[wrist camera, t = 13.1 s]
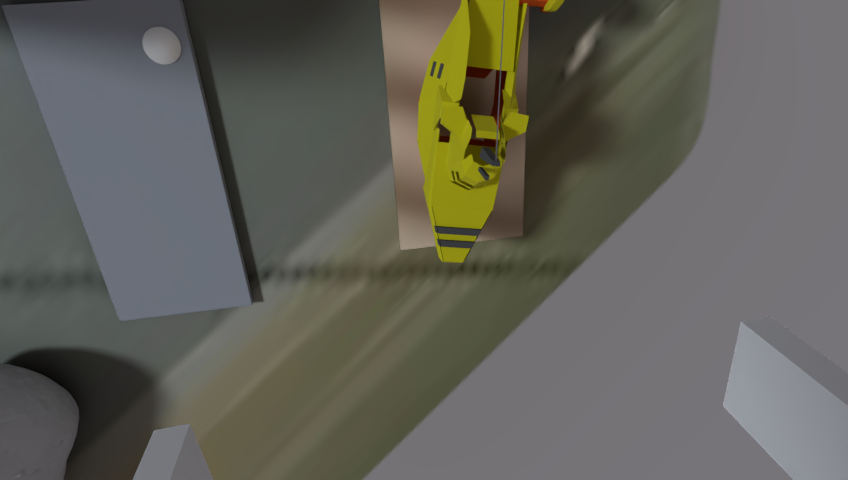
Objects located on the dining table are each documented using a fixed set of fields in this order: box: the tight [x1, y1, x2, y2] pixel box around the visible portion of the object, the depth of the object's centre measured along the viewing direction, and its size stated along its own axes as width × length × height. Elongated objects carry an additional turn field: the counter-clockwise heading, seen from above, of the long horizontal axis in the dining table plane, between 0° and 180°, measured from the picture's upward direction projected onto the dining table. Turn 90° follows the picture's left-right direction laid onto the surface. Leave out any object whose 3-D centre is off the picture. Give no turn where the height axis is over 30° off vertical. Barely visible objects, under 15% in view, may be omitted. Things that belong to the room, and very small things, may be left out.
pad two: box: [379, 0, 529, 250], centre depth 32 cm, size 20×9×1 cm, turn 3°
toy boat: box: [417, 0, 565, 263], centre depth 28 cm, size 6×18×10 cm, turn 173°
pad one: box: [1, 0, 253, 321], centre depth 31 cm, size 20×9×1 cm, turn 3°
